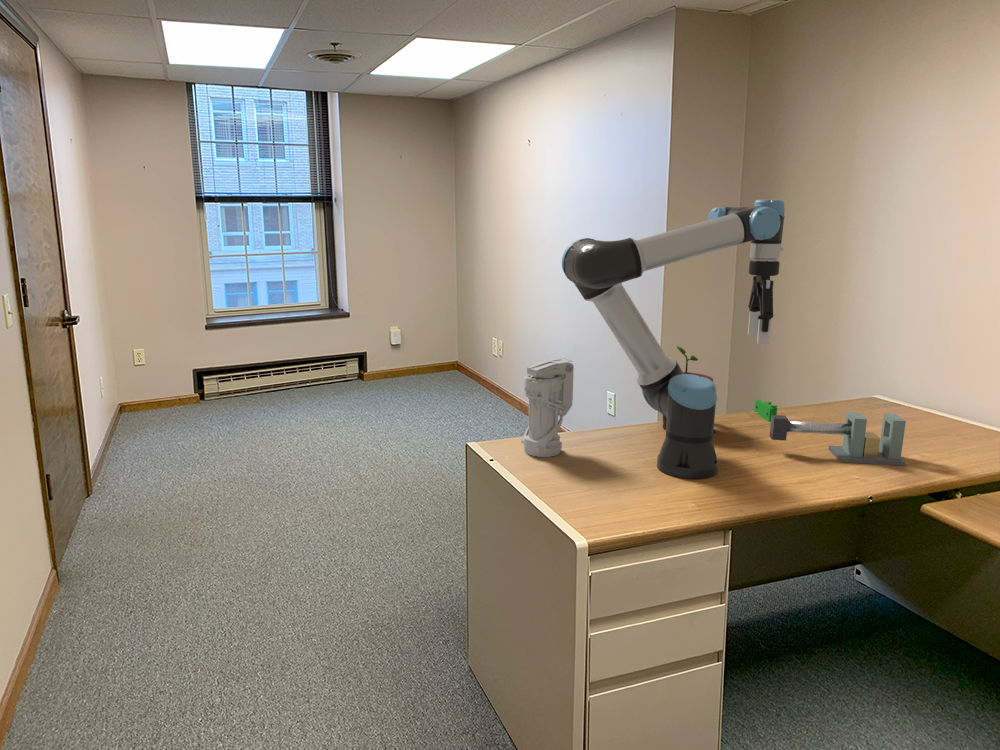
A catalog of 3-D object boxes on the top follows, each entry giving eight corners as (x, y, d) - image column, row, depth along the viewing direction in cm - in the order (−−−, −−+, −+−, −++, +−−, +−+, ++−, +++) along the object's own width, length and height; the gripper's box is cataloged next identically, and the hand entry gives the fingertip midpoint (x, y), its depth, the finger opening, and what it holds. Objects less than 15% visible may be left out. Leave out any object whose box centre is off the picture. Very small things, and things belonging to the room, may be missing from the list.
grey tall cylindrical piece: (536, 460, 191) (538, 367, 185) (516, 448, 200) (517, 360, 194) (576, 452, 197) (580, 362, 191) (556, 442, 206) (558, 355, 200)
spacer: (870, 450, 198) (873, 432, 196) (877, 457, 192) (880, 438, 191) (856, 449, 198) (859, 431, 197) (863, 456, 193) (865, 437, 192)
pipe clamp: (780, 422, 228) (781, 408, 227) (768, 422, 228) (770, 408, 226) (765, 412, 239) (766, 398, 238) (754, 412, 238) (755, 399, 237)
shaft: (852, 440, 197) (854, 418, 195) (856, 444, 193) (859, 422, 192) (769, 435, 200) (771, 414, 199) (772, 439, 196) (774, 418, 195)
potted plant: (641, 424, 224) (645, 344, 218) (693, 415, 234) (698, 339, 229) (682, 440, 209) (687, 355, 203) (735, 429, 219) (742, 348, 214)
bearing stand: (889, 452, 200) (894, 411, 197) (904, 465, 189) (910, 423, 186) (828, 448, 202) (832, 409, 199) (840, 462, 191) (845, 420, 189)
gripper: (790, 263, 178) (782, 348, 183) (769, 257, 202) (762, 332, 207) (759, 262, 179) (751, 347, 184) (741, 256, 203) (735, 331, 208)
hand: (757, 339), depth 195 cm, fingers open, 13 cm apart
